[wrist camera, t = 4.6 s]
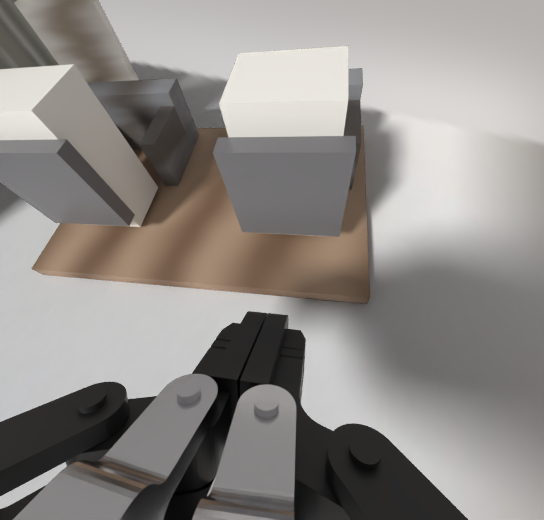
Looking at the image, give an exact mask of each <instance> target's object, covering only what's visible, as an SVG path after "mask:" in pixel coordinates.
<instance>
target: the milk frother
mask: <svg viewBox="0 0 544 520" xmlns="http://www.w3.org/2000/svg"><path fill="white" fill-rule="evenodd" d="M16 1H17V0H0V69H12V68H26V67H41V66H56V65H59V64H58V63H57V61H56V60H55V59H54V57H53V56H52V55H51V53H50V52H49V50H48V49H47V48H46V46H45V45H44V44H43V42H42V41H41V39H40V38H39V37H38V35H37V34H36V33H35V31H34V30H33V28H32V27H31V26H30V24H29V23H28V22H27V20H26V19H25V18H24V16H23V15H22V13H21V12H20V11H19V9H18V8H17V7H16V5H15V4H14V2H16Z"/></svg>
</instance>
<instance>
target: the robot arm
mask: <svg viewBox="0 0 544 520" xmlns="http://www.w3.org/2000/svg"><path fill="white" fill-rule="evenodd" d="M305 342H306V339H305V337H304V336H303V334H302V332H301V330H292V329H288V315H280V314H270V313H268V314H267V313H260V312H250V311H248V312H247V314H246V315H245V317H244V319H243V320H242V322H241V324H238V323H232V324H230V325H229V326H227V327H226V328H224V329H223V330H222V331H221V332H220V334H219V335H218V337H217V338H216V340H215V341H214V342H213V344H212V345H211V348H209V350H208V351H207V353H206V354H205V355H204V357H203V358H202V360H201V361H200V363H199V364H198V366H197V367H196V369H195V370H194V371H193V373H192V374H189V375H185V376H182V377H179V378H177V379H175V380H173V381H172V382H170V383H169V384H168V385H167V386H166V387H165V388H164V389H163V390H162V391H161V392H160V394H159V395H158V396H154V397H145V398H136V399H128V398H127V393H126V389H125V387H124V386H123V385H122V384H119V383H116V382H103V383H98V384H94V385H91V386H88V387H86V388H83V389H81V390H78V391H76V392H73V393H71V394H69V395H66V396H64V397H61V398H59V399H56V400H54V401H51V402H49V403H46V404H44V405H41V406H39V407H36V408H34V409H31V410H29V411H27V412H24V413H22V414H19V415H17V416H14V417H12V418H9V419H7V420H4V421H2V422H0V496H2V495H4V494H5V493H7V492H9V491H11V490H13V489H15V488H17V487H19V486H20V485H22V484H24V483H26V482H28V481H30V480H32V479H34V478H35V477H37V476H39V475H41V474H43V473H45V472H47V471H49V470H51V469H52V468H54V467H56V466H58V465H60V464H62V463H64V462H66V464H67V467H66V468H65V469H64V470H62V471H61V472H60V473H59V474H58V475H57V476H56V477H54V478H53V479H52V480H51V481H50V482H49V483H48V484H47V485H46V486H44V487H42V488H40V489H39V490H37V491H35V492H33V493H32V494H30V495H28V496H26V497H24V498H23V499H21V500H19V501H17V502H15V503H14V504H12V505H10V506H8V507H5V508H3V509H0V520H468V519H467V518H466V517H465V516H464V515H463V514H462V513H461V512H460V511H459V510H458V509H457V508H456V507H455V506H454V505H453V504H452V503H451V502H450V501H449V500H448V499H447V498H446V497H445V496H444V495H443V494H442V493H441V492H440V491H439V490H438V489H437V488H436V487H435V486H434V485H433V484H432V483H431V482H430V481H429V480H428V479H427V478H426V477H425V476H424V475H423V474H422V473H421V472H420V471H419V470H418V469H417V468H416V467H415V466H414V465H413V464H412V463H411V462H410V461H409V460H408V459H407V458H406V457H405V456H404V455H403V454H402V453H401V452H400V451H399V450H398V449H397V448H396V447H395V446H394V445H393V444H392V443H391V442H390V441H389V440H388V439H387V438H386V437H385V436H384V435H382V434H381V433H380V432H378V431H376V430H375V429H373V428H370V427H368V426H365V425H361V424H345V425H342V426H340V427H338V428H337V429H335V430H334V431H332V430H330V429H328V428H326V427H323V426H321V425H320V424H318V423H316V422H315V421H313V420H312V419H311V418H310V417H309V416H308V415H307V414H306V413H305V411H304V410H303V408H302V406H301V396H302V386H303V376H304V359H305Z"/></svg>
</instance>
